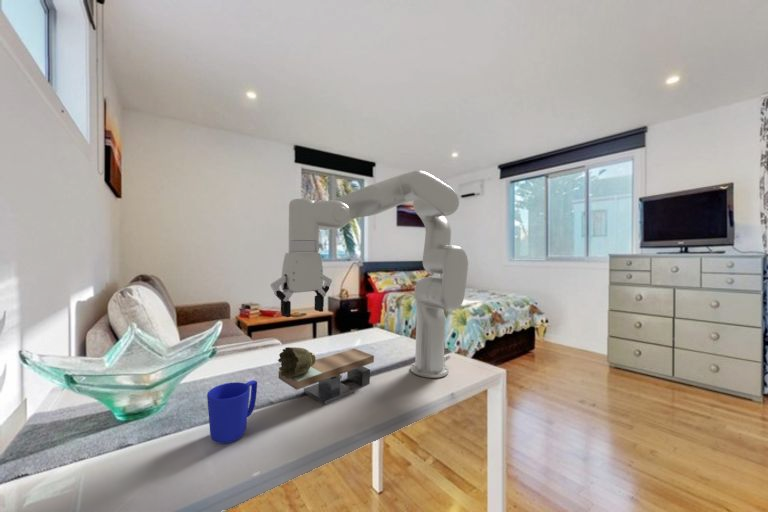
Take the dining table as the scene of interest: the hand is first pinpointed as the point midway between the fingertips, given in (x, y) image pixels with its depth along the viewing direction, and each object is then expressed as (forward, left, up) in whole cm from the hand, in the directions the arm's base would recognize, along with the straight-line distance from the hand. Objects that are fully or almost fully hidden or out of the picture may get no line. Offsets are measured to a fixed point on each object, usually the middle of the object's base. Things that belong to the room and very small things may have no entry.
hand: (303, 313), depth 82 cm
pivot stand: (-13, 0, -24) cm, 27 cm away
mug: (+17, +1, -24) cm, 29 cm away
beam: (-9, 0, -18) cm, 20 cm away
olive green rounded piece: (-3, 0, -13) cm, 13 cm away
